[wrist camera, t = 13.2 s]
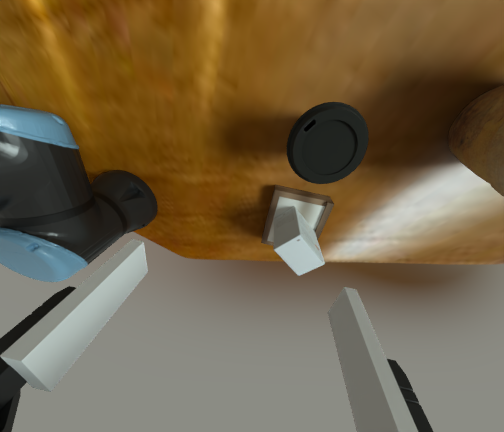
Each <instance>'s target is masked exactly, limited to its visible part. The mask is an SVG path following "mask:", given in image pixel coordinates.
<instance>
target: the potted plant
mask: <svg viewBox="0 0 504 432" xmlns="http://www.w3.org/2000/svg"><path fill="white" fill-rule="evenodd" d="M448 144H449V148H450V151H451V152H452V153H453V154H454V155H455V156H456V157H457V158H458V159H459V161H460V162H461V163H463V164H464V165H465V166H466V167H467V168H468V169H470V170H471V171H472V172H473V173H475V174H476V175H477V176H479V177H480V178H482V179H483V180H485V181H486V182H488V183H490V184H491V186H492V187H493V188H494V189H495V190H496V191H497V192H498V193H500V194H501V195H502V196H504V85H503V86H500V87H497V88H495V89H492V90H490V91H487V92H486V93H484V94H482V95H481V96H479V97H477V98H476V99H474V100H473V101H471V102H470V103H469V104H468V105H467V106H466V107H465V108H464V109H463V110H462V111H461V112H460V114H459V115H458V117H457V118H456V119H455V121H454V122H453V124H452V126H451V128H450V129H449V135H448Z"/></svg>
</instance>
